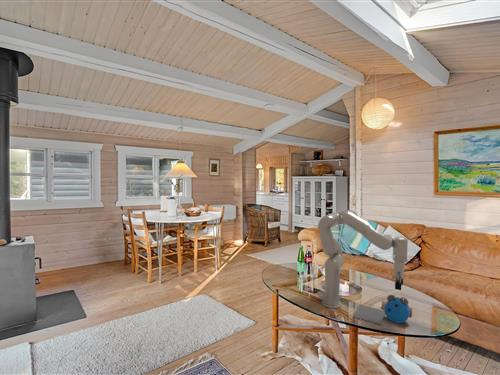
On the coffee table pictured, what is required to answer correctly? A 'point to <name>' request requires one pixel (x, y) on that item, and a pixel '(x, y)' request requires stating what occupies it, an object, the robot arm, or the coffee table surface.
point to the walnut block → (410, 312)
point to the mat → (369, 314)
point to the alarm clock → (397, 309)
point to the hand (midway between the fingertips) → (398, 286)
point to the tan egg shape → (384, 303)
